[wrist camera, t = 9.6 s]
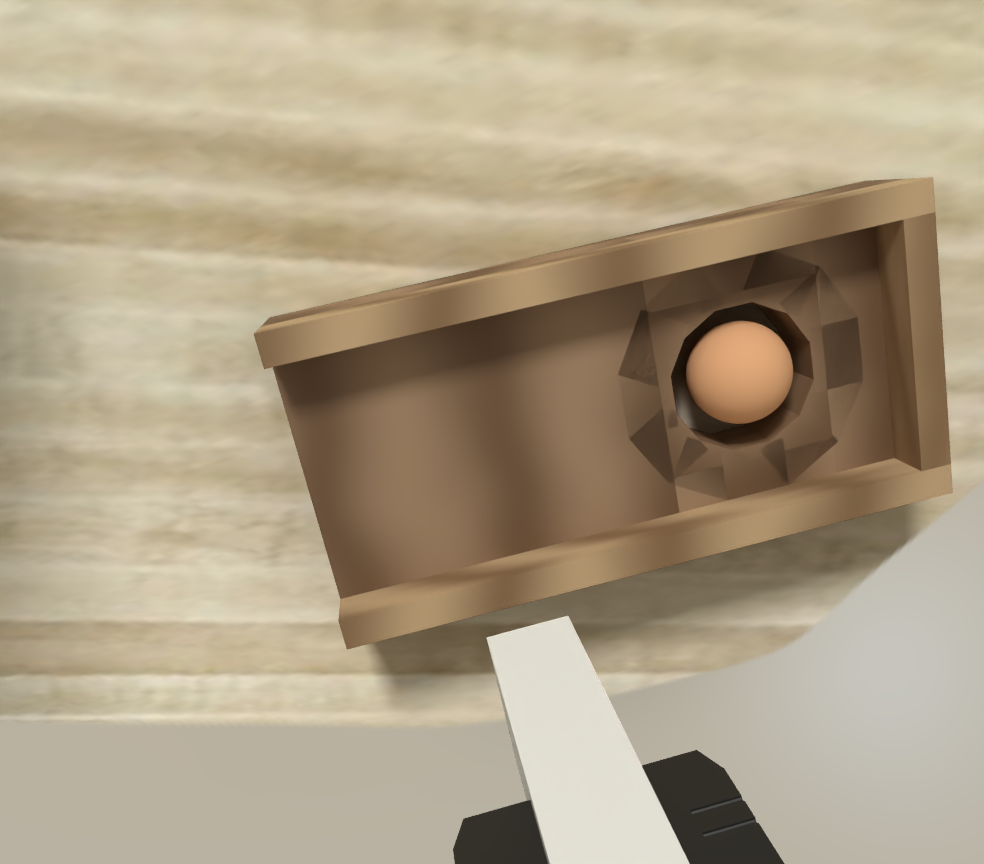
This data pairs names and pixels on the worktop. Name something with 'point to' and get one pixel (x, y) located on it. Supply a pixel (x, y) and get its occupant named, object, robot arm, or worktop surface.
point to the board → (613, 406)
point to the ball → (739, 372)
